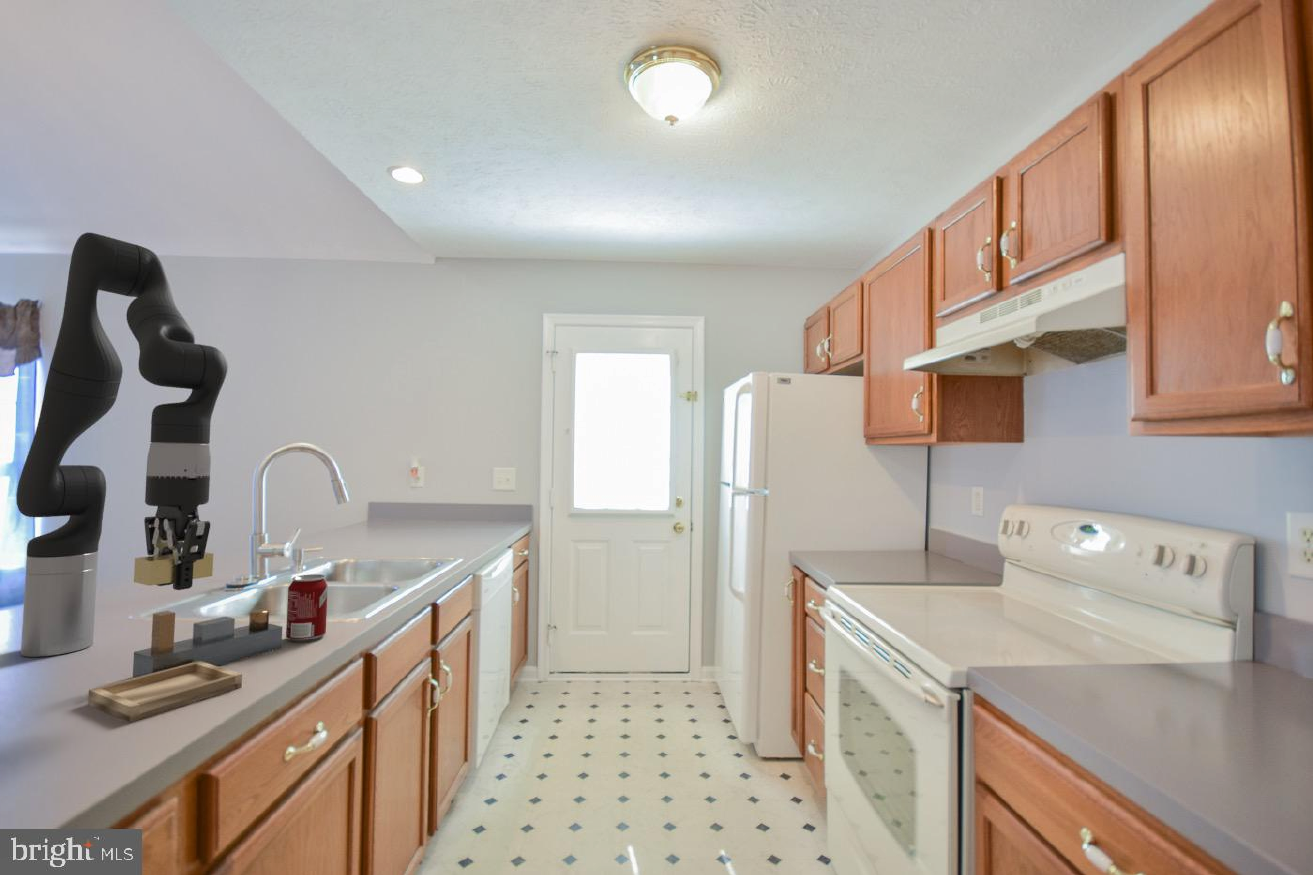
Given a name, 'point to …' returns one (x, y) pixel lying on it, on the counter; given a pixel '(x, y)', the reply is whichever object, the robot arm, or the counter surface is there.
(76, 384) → the robot arm
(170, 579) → the pale wooden block
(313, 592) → the soda can
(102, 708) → the parts tray
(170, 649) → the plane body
